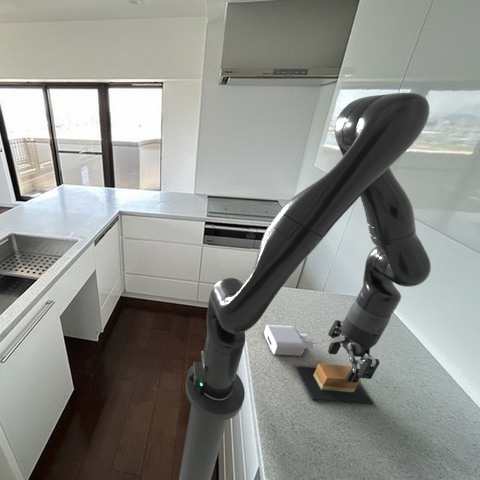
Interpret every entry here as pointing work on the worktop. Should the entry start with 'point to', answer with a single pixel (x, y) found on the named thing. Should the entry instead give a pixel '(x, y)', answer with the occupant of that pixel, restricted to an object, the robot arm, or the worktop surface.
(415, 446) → the worktop surface
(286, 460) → the worktop surface
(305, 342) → the charger
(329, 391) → the mat
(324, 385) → the brush
